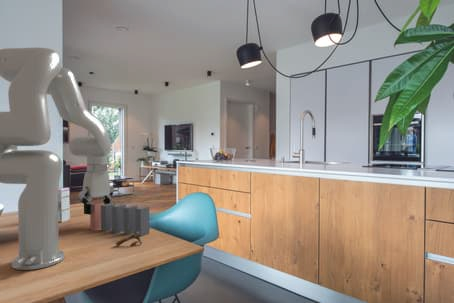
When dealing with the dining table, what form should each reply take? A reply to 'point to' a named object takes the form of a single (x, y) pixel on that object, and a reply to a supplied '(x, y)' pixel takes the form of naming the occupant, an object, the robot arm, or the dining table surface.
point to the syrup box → (63, 205)
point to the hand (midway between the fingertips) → (97, 211)
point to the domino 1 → (95, 216)
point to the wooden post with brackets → (129, 239)
